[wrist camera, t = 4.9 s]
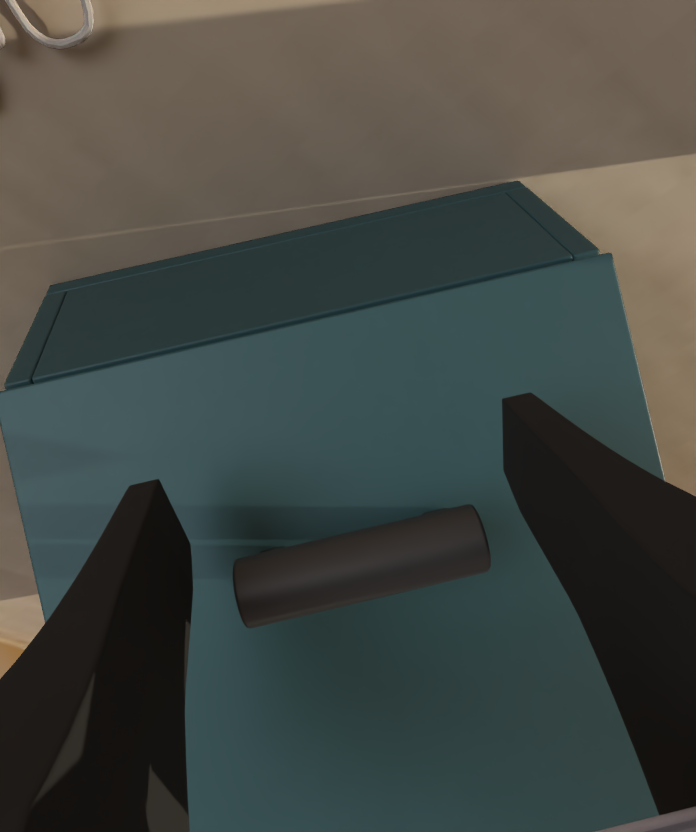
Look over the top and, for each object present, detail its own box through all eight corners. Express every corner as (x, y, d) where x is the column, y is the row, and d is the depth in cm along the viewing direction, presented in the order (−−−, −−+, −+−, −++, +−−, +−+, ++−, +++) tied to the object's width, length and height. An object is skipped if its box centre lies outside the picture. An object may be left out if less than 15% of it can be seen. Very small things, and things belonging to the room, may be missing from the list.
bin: (518, 490, 30) (572, 590, 25) (191, 567, 29) (186, 683, 25) (518, 179, 21) (600, 249, 16) (49, 284, 21) (2, 385, 16)
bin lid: (739, 836, 16) (862, 961, 12) (139, 987, 16) (77, 1164, 12) (602, 257, 16) (682, 207, 13) (4, 393, 16) (-98, 383, 12)
